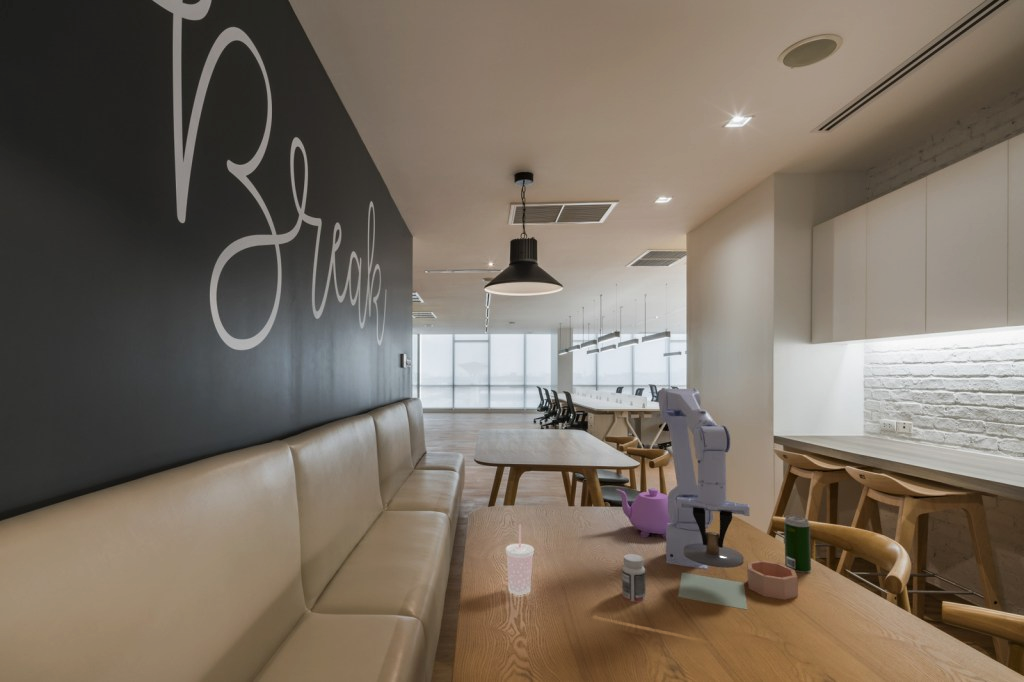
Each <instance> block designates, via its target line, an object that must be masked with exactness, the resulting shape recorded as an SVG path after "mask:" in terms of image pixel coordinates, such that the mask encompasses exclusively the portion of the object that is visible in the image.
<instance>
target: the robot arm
mask: <svg viewBox="0 0 1024 682" xmlns="http://www.w3.org/2000/svg"><path fill="white" fill-rule="evenodd" d="M701 402H702V401H701V393H700V391H699V390H698V389H697V388H695V387H693V388H666V387H662V388H661V389H660V390H659V393H658V409H659V414H660V415H659V416H660V417H661V422H664V423H665V424H667V427H668V431H669V435H670V437H669V438H670V444H671V450H672V451H671V453H672V456H673V457H672V459H673V465H674V473H675V479H676V486H675V487H673V488H672V489H670V490H669V492H668V495H667V496H668V516H669V519H670V521H671V522H672V523H667V529H666V538H665V543H666V544H665V554H666V555H665V557H666V559H665V562H666V564H670V565H671V564H672V565H678V566H683V567H689V568H696V569H701V570H708V569H709V566H708V565H703V564H700V563H697V562H694V561H692V560H690V559H688V558H687V557H686V556H685V555H684V552H683V548H684V547H685V546H686V545H689V544H695V543H703V545H706V533H707V530H708V529H709V526H710V525H712V523H713V521H714V512H717V513H719V533H718V534H719V547H721V548H723V546H724V540H725V537H726V534H727V531H728V528H729V526H730V524H731V522H732V520H733V514H735V515H743V516H746V517H750V505H749V504H745V503H739V502H734V501H729V500H727V461H726V459H727V458H726V455H727V454H726V453H728V452H729V451H730V448H731V436H730V432H729V429H728V427H727V426H726V425H722V424H721V425H720V424H717V422H716V421H715V420H714V418H713V417H712V416H711V414H710V413H709V412H708V410H706V409H705V408H701ZM688 429H689V430H688ZM689 431H690V432H691V434H692V436H693V437H692V439H693V446H694V450H695V451H694V454H695V459H696V460H697V478H696V474H695V473H696V472H695V466H694V460H693V454H692V448H691V441H690V435H689Z"/></svg>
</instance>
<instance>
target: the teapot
mask: <svg viewBox="0 0 1024 682" xmlns="http://www.w3.org/2000/svg"><path fill="white" fill-rule="evenodd" d="M615 490H616V491H618V493H619V494H620V497H621V507H622V511H623V514H624V515H625V516H626V517H628V520H629V522H630V524H631V525H632V526H633V528H635V529H637V530H638V531H640V534H639V535H640V537H645V538H646V537H649V536H650V533H651V534H660V535H661V537H662V536H663V537H662V538H665V537H666V529H667V523H672V522H671V521H670V519H669V516H668V495H667V494H664V493H661V492H659V489H657V488H651V487H650V488H648V491H643V492H640V493H638V494H637V496H636V497H635V499H634V500H633V502H632V503H631V506H630V505H629V504H628V495H627V493H626V492H625V491H624V490H621V489H618V488H616V489H615Z"/></svg>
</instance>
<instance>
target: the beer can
mask: <svg viewBox="0 0 1024 682" xmlns="http://www.w3.org/2000/svg"><path fill="white" fill-rule="evenodd" d="M809 522H810V521H809V519H807V518H804V517H803V516H802V517H800V516H795V515H789V516H785V518H784V521H783V523H784V527H783V528H784V561H785V563H784V564H785V565H784V566H787V567H789V568H791V569H794V570H795V573H796V572H797V573H802V574H804V573H805V574H806V573H807V574H810V573H811V571H812V560H811V559H812V558H811V557H812V555H811V553H812V552H811V525H810V523H809Z"/></svg>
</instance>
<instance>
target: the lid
mask: <svg viewBox="0 0 1024 682" xmlns="http://www.w3.org/2000/svg"><path fill="white" fill-rule="evenodd" d="M719 534H720V533H717V532H713V531H706V545H703V543H695V544H689V545H686V546H685V547H684V548H683V552H684V555H685V556H686V557H687V558H688V559H690V560H692V561H694V562H697V563H700V564H703V565H708V567H715V568H725V569H727V568H737V567H740V566H742V565H743V564H744V560H745V559H744V556H743V554H742V553H740V552H739V551H738V550H735V549H733V548H730V547H727V546H724V545H723V548H721V547H719Z"/></svg>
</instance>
